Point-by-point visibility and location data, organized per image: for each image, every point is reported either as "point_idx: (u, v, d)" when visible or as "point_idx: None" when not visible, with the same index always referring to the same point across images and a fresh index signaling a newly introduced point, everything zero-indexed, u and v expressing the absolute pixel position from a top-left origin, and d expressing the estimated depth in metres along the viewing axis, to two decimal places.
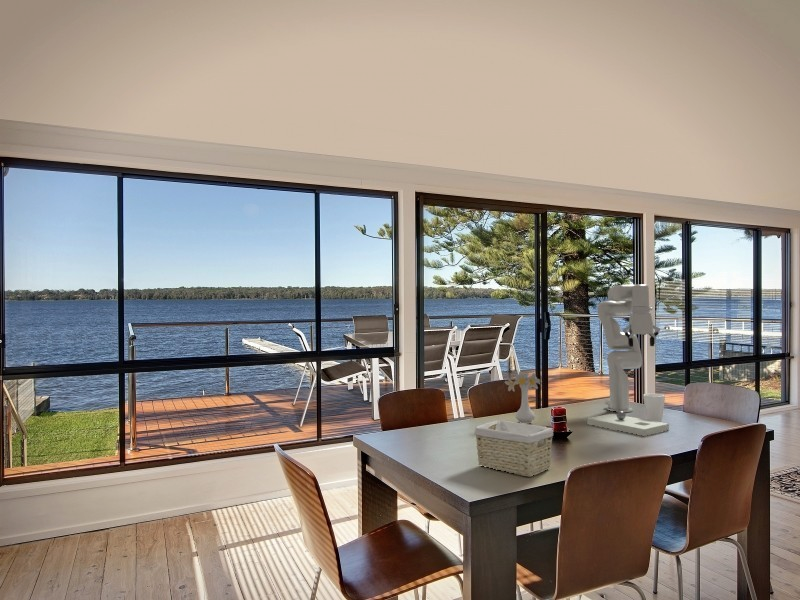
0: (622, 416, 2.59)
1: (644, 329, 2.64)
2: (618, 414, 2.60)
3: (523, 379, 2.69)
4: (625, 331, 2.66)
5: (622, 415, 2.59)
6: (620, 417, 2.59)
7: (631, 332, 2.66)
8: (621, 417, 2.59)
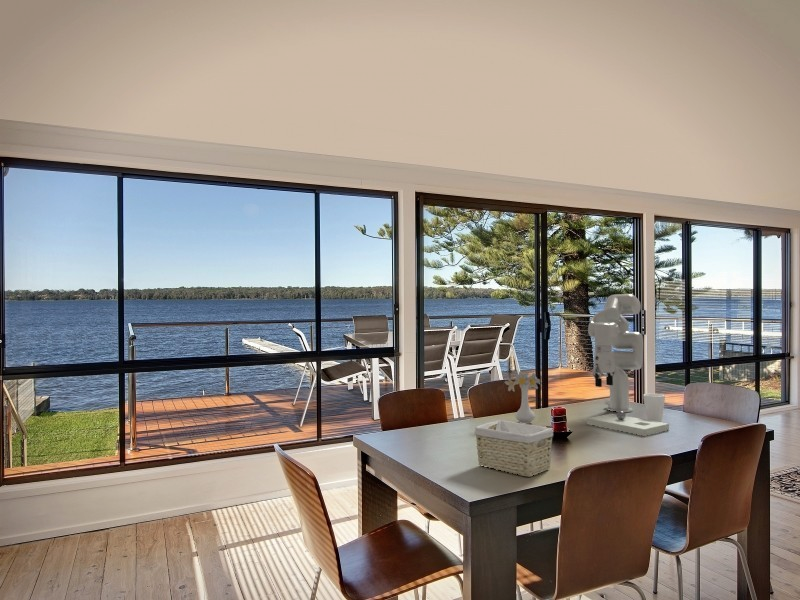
0: (622, 416, 2.59)
1: None
2: (618, 414, 2.60)
3: (523, 379, 2.69)
4: None
5: (622, 415, 2.59)
6: (620, 417, 2.59)
7: None
8: (621, 417, 2.59)
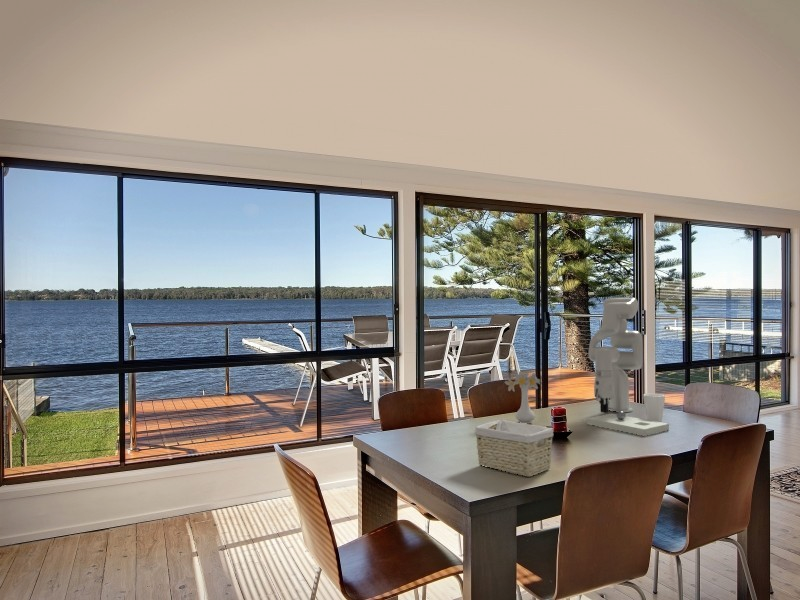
0: (622, 416, 2.59)
1: None
2: (618, 414, 2.60)
3: (523, 379, 2.69)
4: None
5: (622, 415, 2.59)
6: (620, 417, 2.59)
7: (606, 397, 2.69)
8: (621, 417, 2.59)
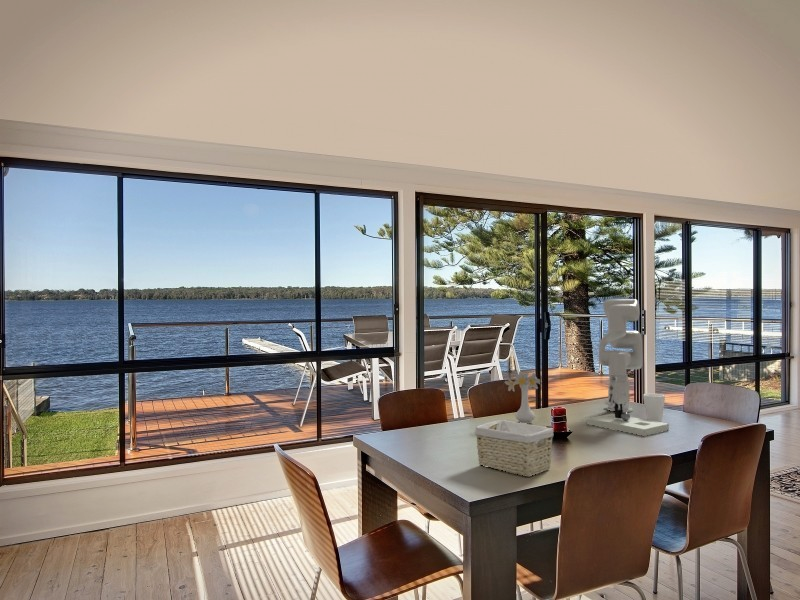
0: (625, 420, 2.58)
1: None
2: (624, 416, 2.57)
3: (523, 379, 2.69)
4: None
5: (625, 419, 2.57)
6: (622, 419, 2.58)
7: None
8: (623, 419, 2.58)
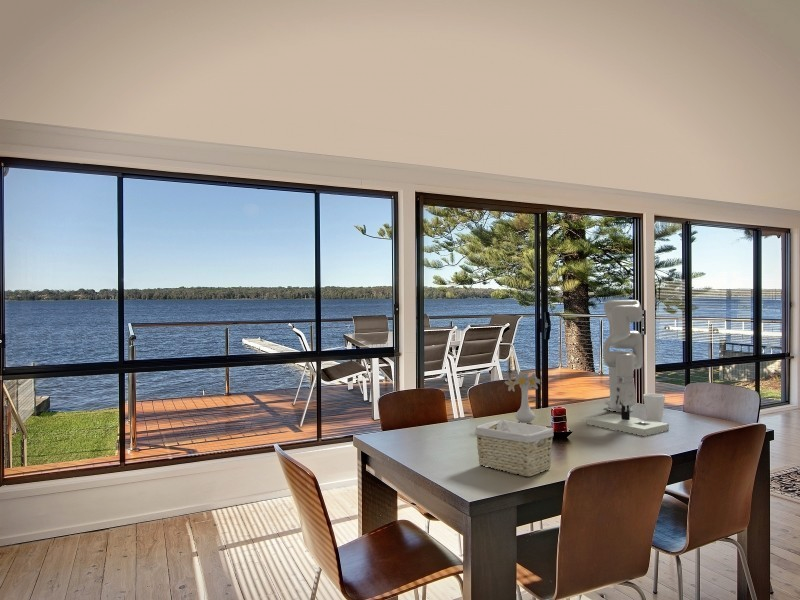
0: (644, 424, 2.50)
1: None
2: (639, 423, 2.51)
3: (523, 379, 2.69)
4: None
5: (644, 423, 2.50)
6: None
7: (627, 404, 2.60)
8: None
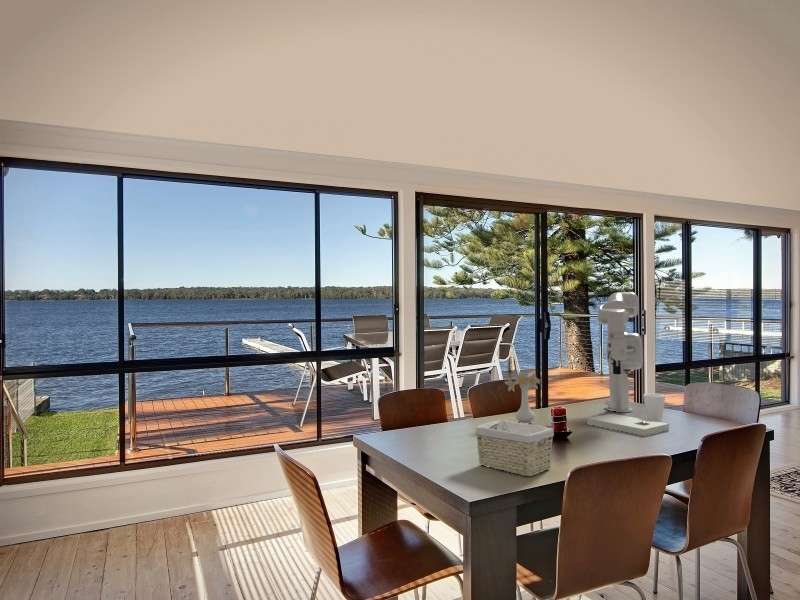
0: (646, 423, 2.51)
1: None
2: (642, 422, 2.52)
3: (523, 379, 2.69)
4: None
5: (646, 423, 2.51)
6: (644, 423, 2.50)
7: (619, 359, 2.71)
8: (645, 424, 2.50)
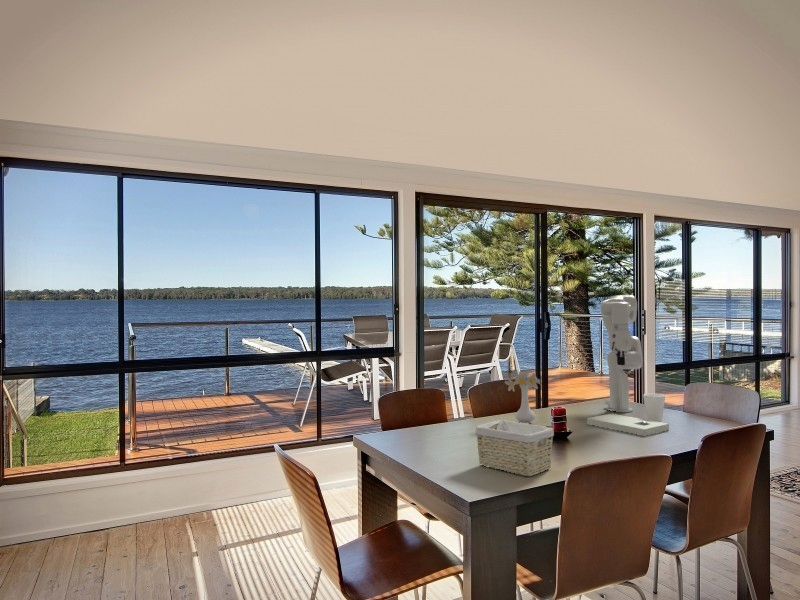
0: (647, 423, 2.51)
1: None
2: None
3: (523, 379, 2.69)
4: None
5: (647, 423, 2.51)
6: (645, 423, 2.50)
7: (623, 351, 2.76)
8: (646, 423, 2.50)
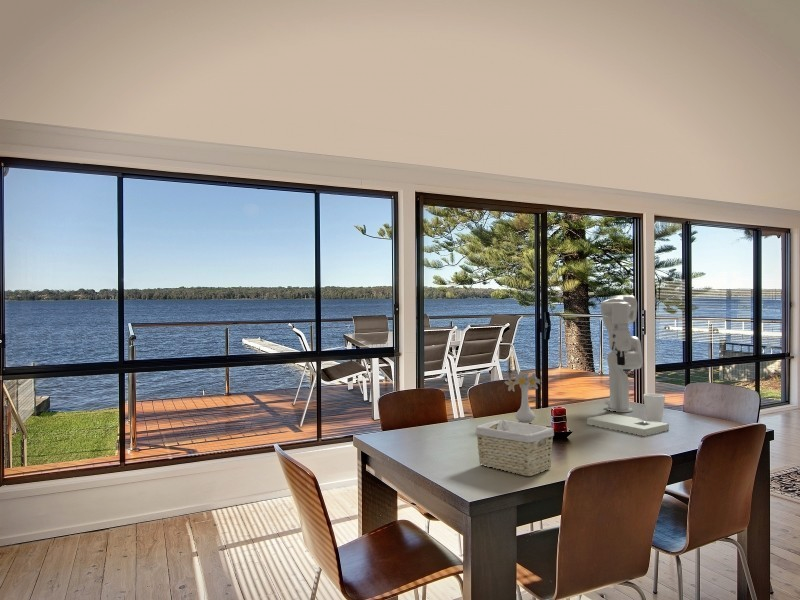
0: (647, 423, 2.51)
1: None
2: None
3: (523, 379, 2.69)
4: None
5: (647, 423, 2.51)
6: (645, 423, 2.50)
7: (623, 351, 2.76)
8: (646, 423, 2.50)
